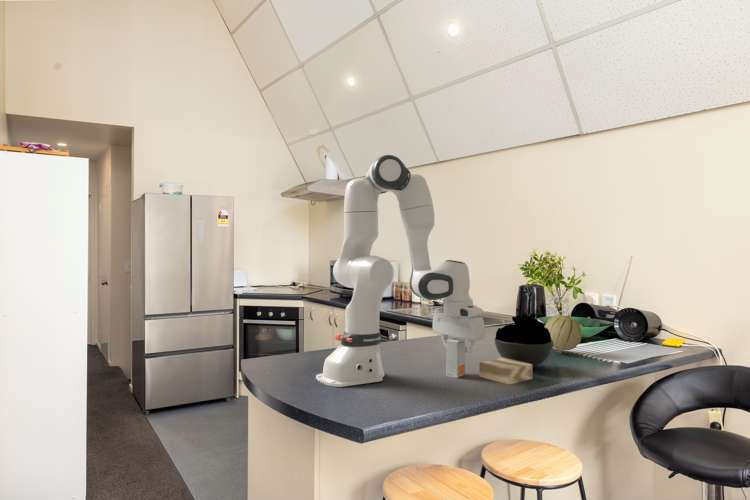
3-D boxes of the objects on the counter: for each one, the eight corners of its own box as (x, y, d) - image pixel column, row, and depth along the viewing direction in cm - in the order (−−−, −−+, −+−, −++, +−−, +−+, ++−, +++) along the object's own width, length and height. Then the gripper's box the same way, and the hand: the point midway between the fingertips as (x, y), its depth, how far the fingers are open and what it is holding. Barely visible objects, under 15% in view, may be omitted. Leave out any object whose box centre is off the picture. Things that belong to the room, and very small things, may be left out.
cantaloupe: (536, 348, 205) (536, 313, 205) (562, 345, 211) (562, 311, 211) (563, 355, 192) (563, 317, 192) (589, 351, 198) (589, 315, 198)
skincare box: (457, 378, 158) (457, 341, 158) (445, 376, 160) (445, 340, 160) (465, 374, 163) (465, 339, 163) (454, 372, 165) (454, 337, 165)
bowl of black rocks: (513, 376, 160) (513, 319, 160) (484, 362, 180) (484, 312, 180) (565, 372, 166) (565, 317, 166) (531, 359, 185) (531, 310, 185)
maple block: (508, 385, 151) (508, 369, 151) (479, 377, 161) (479, 362, 161) (532, 379, 158) (532, 364, 158) (503, 371, 168) (503, 357, 168)
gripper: (427, 306, 167) (428, 346, 168) (474, 312, 152) (475, 356, 152) (440, 304, 171) (441, 343, 172) (487, 310, 155) (487, 353, 156)
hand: (457, 349), depth 162 cm, fingers open, 8 cm apart
